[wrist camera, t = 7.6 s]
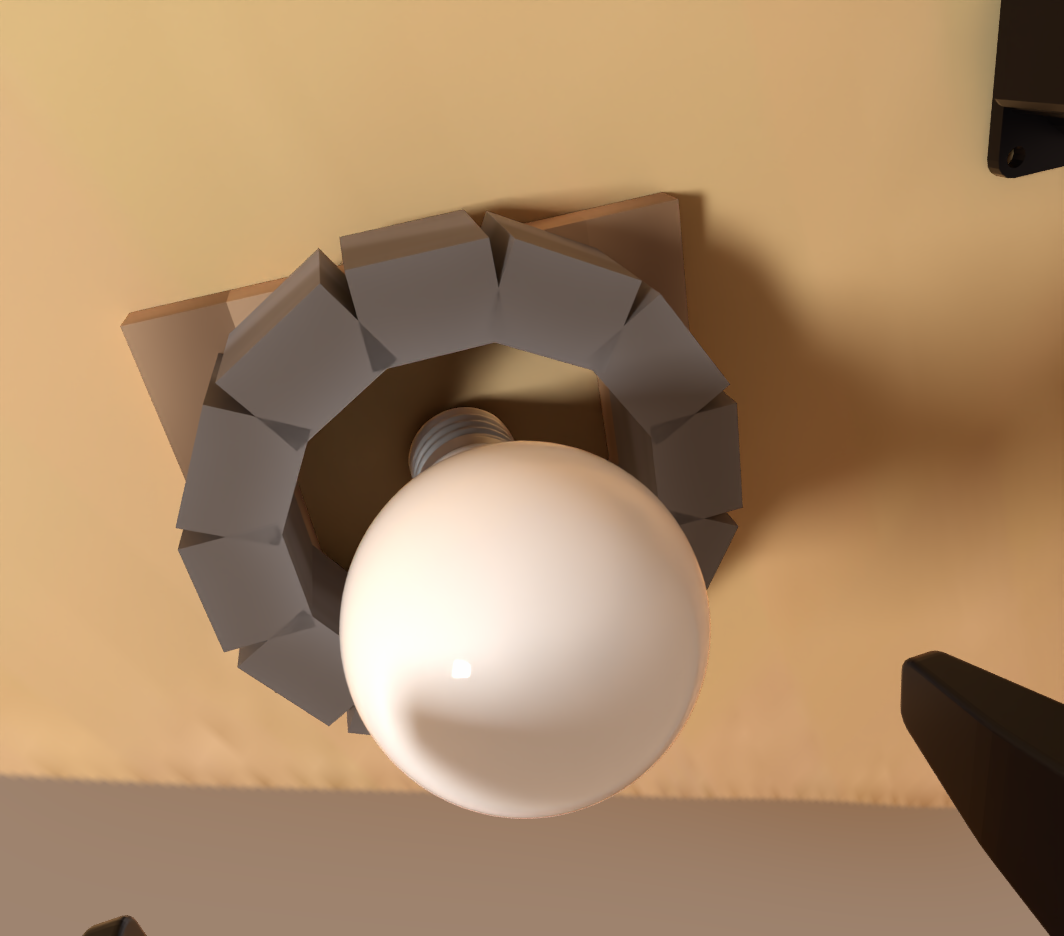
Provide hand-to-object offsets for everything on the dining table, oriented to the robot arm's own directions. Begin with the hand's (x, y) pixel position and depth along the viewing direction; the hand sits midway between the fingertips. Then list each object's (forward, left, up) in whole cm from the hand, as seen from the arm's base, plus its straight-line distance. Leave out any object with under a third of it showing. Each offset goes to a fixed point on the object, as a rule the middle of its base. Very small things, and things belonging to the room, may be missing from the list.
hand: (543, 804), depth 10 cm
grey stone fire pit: (-1, +2, -13) cm, 13 cm away
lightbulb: (-1, +2, -13) cm, 13 cm away
